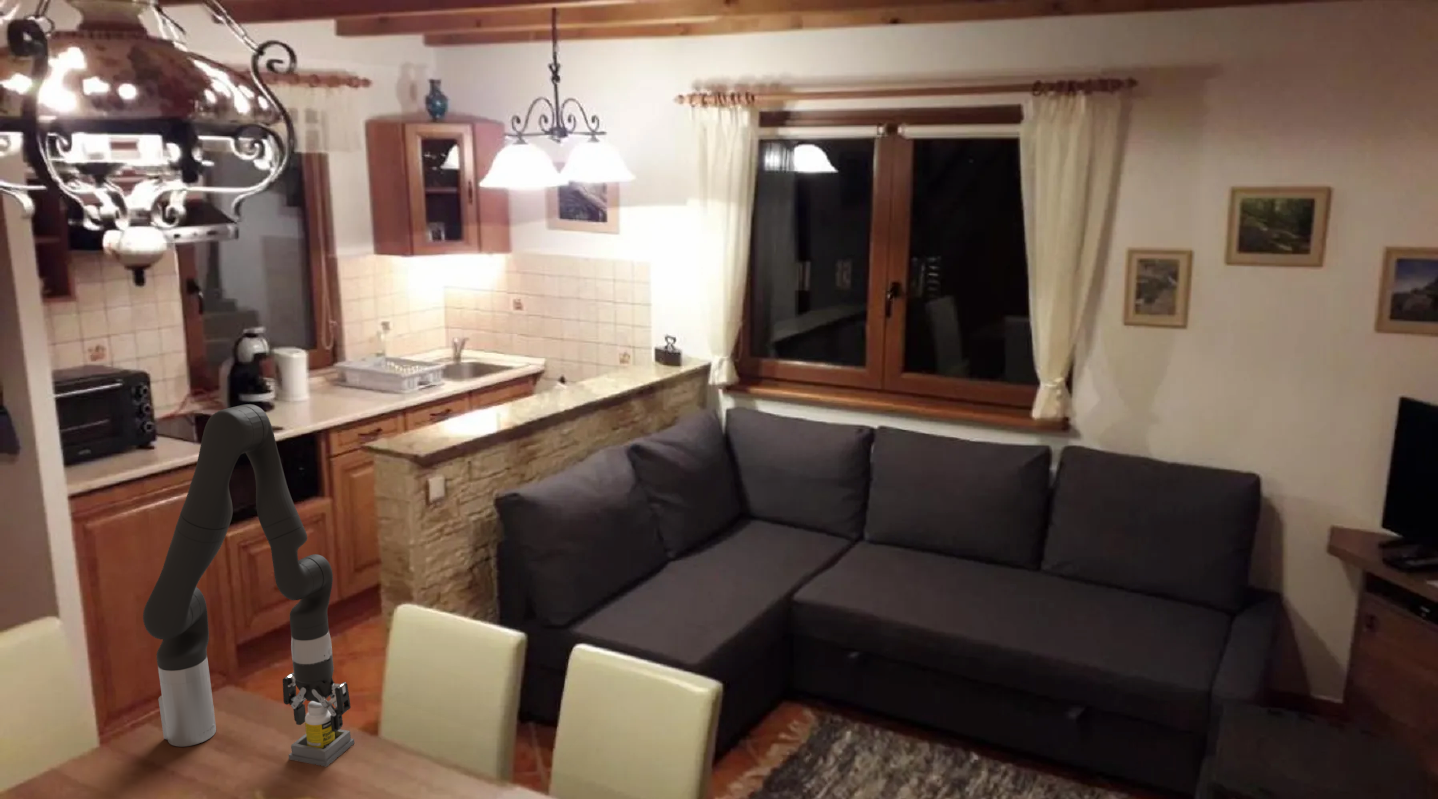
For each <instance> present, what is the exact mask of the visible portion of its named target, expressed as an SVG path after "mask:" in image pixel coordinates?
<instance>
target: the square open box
mask: <svg viewBox="0 0 1438 799" xmlns="http://www.w3.org/2000/svg"><path fill="white" fill-rule="evenodd" d="M334 733H335V741H333V742H332V743H331V744H330V745H328V746H327V747H326V748H325V749H321V748H316V747H311V746H307V738H306V733H305V734H303V735H302V736H301V737H299V739H297V740H296V741H294V742H293V743H292V744H291V745H290V750H291V752H290V753H289V754H288V760H291V761H294V762H295V761H296V762H301V763H305V764H310V765H315V764H316V765H315V766H320V765H321V767H325V768H326V767H327V768H328V767H329V764H330V763H331V764H333V762H335V760H337V759H338V758H339V757H340V756H341V755H343V754H344V753H345V752H346V751H347V750H348V749H349V748H351V747H352V746H353V745H355V738H352V737H351V731H350V730H346V729H342V728H340V729H339V730H338V731H337V732H334ZM337 757H338V758H337ZM331 764H330V765H331Z"/></svg>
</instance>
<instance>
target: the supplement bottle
mask: <svg viewBox="0 0 1438 799" xmlns="http://www.w3.org/2000/svg"><path fill="white" fill-rule="evenodd" d="M330 716H331V714H330V712H329V711H328V709H327V708H324V707H323V706H322V704H321V703H317V702H315V701H308V703H307V713H306V716H305V722H304V725H305V734H306V738H307V746H311V747H316V748H321V749H325V748H326V747H327V746H328V745H330V744H331V743H332V742H333V741H335V733H334V732H332V728H331V717H330Z"/></svg>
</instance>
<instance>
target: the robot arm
mask: <svg viewBox="0 0 1438 799" xmlns="http://www.w3.org/2000/svg"><path fill="white" fill-rule="evenodd" d="M274 433H275V432H274V430H273V425H272V423H271V421H270V418H269V417H268V415H267V413H266V411H265V410H263V409H262V408H261V407H260V406H258V405H255V404H251V403H249V404H248V403H247V404H241V405H237V406H233V407H228V408H224V409H220V410H218V411H216V412H215V413H213V414H212V415H211V416H210V417H209V418H208V420H207V421H206V423H205V427H204V430H203V435H202V437H201V443H200V447H199V451H198V452H199V453H198V456H197V462H196V467H195V469H194V473H193V476H192V479H191V482H190V484H189V488H188V491H187V494H186V498H185V501H184V503H183V505H182V508H181V510H180V513H179V516H178V518H177V519H178V520H177V522H176V525H175V529H174V532H173V536H172V538H171V542H170V545H169V547H168V549H167V550H168V551H167V552H166V557H165V560H164V563H163V566H162V568H161V569H162V570H161V572H160V574H159V576H158V579H157V581H156V583H155V584H154V587H153V589H152V591H151V593H150V595H149V597H148V600H147V601H146V603H145V606H144V609H143V612H142V621H143V624H144V628H145V630H146V631H147V633H148V634H150V636H152V637H153V638H155V639H158V640H162V641H161V643H160V645H159V647H158V649H157V652H156V662H157V672H158V677H159V684H160V691H161V695H160V696H159V697H158V705H159V713H160V719H161V721H160V722H161V727H162V735H163V739H164V740H167V742H168V743H169V745H171V746H173V747H181V748H182V747H191V746H194V745H198V744H200V743H201V744H202V743H203V742H206V741H208V740H209V739H211V738H212V737H213V736H214V735H215V734H216V732H217V727H216V726H217V724H216V716H215V708H214V702H213V701H214V700H213V691H212V684H211V676H210V668H209V661H208V653H207V652H208V651H207V648H208V644H209V642H210V630H209V629H210V628H209V619H208V618H209V615H208V607H207V606H208V605H207V601H206V598H205V596H204V594H203V592H202V591H201V589H199V588H198V587H197V586H198V584H199V582H200V580H201V579H202V576H203V575H204V573H205V572H206V570H208V569H209V566H210V565H211V563H212V562H213V560H214V558H215V557H216V556H217V554H218V553H219V551H220V550H221V547H222V545H223V543H224V540H225V539H226V535H227V533H228V530H229V527H230V524H231V522H232V518H233V512H234V510H233V509H234V507H233V502H232V496H231V492H230V480H231V477H232V474H233V471H234V468H235V466H236V465H237V464H236V463H237V462H238V459H239V458H240V457H241V455H243V454H245V455H246V456H247V458H248V460H249V461H250V462H249V463H250V464H251V467H252V468H253V469H252V470H253V473H254V478H255V479H254V480H255V488H256V490H255V492H256V493H255V499H256V500H255V503H256V504H255V506H256V512H257V517H258V520H259V523H260V527H261V529H262V531H263V533H264V536H265V538H266V541H268V544H269V547H270V552H271V559H272V560H271V561H272V567H273V573H274V574H273V575H274V580H275V584H276V587H277V589H278V591H279V592H280V594H281V595H282V596H283V597H285V598H286V599H288V600H291V601H298V602H297V603H296V604H295V605H294V606H292V608H291V610H290V612H289V626H290V636H291V637H290V638H291V641H290V644H291V645H290V649H291V659H292V669H293V672H291V673H290V674H288V675H286V676H285V677H283V679H282V696H283V703H284V705H289V706H291V708H292V709H293V717H294V718H293V720H294V721H295V724H296V725H297V726H301V725H303V724H305V716H306V714H307V713H306V704H304V703H305V701H307V702H311V701H315V702H317V703H321V704H322V706H323V707H324V708H327V709H328V711H329V712H330V714H331V716H330V717H331V728H332V732H337V731H338V730H339V729H342V727H343V724H344V723H343V722H344V721H343V715H344V714H345V713H346V712H347V711H349V710H350V709H351V708H352V707H351V706H352V705H351V701H350V695H349V694H350V693H349V688H348V687H349V686H348V683H347V682H346V681H344V682H342V683H335V681H334V678H333V674H334V671H335V670H334V668H335V667H334V660H333V657H334V656H333V648H332V646H333V645H332V638H331V635H330V628H329V616H328V610H329V609H328V608H329V605H330V599H331V593H332V588H333V580H334V579H333V578H334V576H333V575H334V574H333V570H332V566H331V563H330V562H329V560H328V559H326V558H325V557H324V556H323V555H320V554H310V555H307V556H305V557H302V558H301V559H299V555H298V551H299V549H300V548H301V547H302V546H303V545H304V544H305V543H306V542H307V541H308V533H307V530H306V529H305V526H304V523H303V521H302V519H301V517H300V514H299V513H298V510H297V508H296V506H295V503H294V501H293V499H292V496H291V493H290V490H289V488H288V483H287V480H286V476H285V473H284V469H283V465H282V460H281V457H280V452H279V450H278V446H277V441H276V436H275V434H274ZM297 689H298V693H297ZM329 697H330V699H329V700H327V699H328V698H329Z"/></svg>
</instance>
